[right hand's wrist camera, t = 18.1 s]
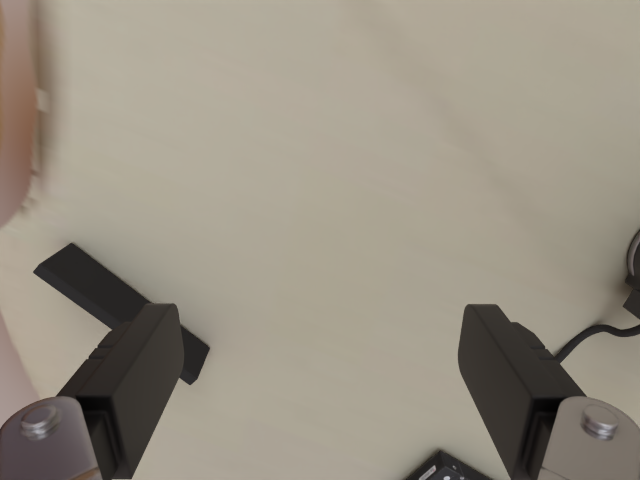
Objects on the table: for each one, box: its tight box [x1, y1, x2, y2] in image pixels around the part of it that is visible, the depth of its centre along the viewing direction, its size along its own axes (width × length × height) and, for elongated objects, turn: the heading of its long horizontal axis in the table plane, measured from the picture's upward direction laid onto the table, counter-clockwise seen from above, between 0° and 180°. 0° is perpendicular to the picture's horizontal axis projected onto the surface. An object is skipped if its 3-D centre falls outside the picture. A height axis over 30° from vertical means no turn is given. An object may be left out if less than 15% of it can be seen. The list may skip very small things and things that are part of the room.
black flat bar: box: [33, 243, 210, 385], centre depth 40 cm, size 18×1×5 cm, turn 45°
